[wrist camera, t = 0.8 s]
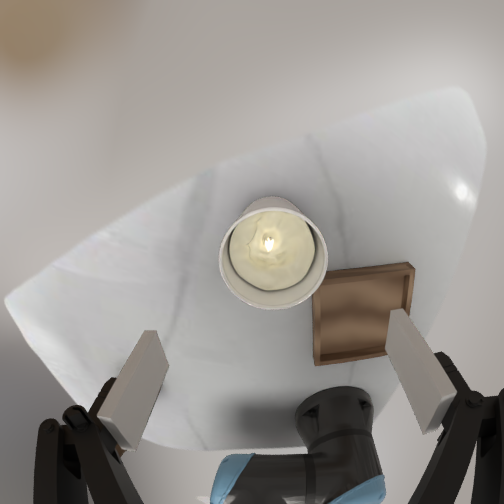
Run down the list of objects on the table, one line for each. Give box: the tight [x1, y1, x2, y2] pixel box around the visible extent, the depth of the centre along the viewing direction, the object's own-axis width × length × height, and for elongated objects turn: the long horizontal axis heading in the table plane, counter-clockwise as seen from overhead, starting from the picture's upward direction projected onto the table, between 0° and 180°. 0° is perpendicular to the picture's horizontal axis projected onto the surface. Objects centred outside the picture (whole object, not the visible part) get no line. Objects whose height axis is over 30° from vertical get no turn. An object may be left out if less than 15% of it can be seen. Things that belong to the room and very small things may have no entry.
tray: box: [312, 262, 415, 366], centre depth 39 cm, size 15×15×2 cm
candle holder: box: [219, 196, 328, 310], centre depth 31 cm, size 10×10×12 cm
